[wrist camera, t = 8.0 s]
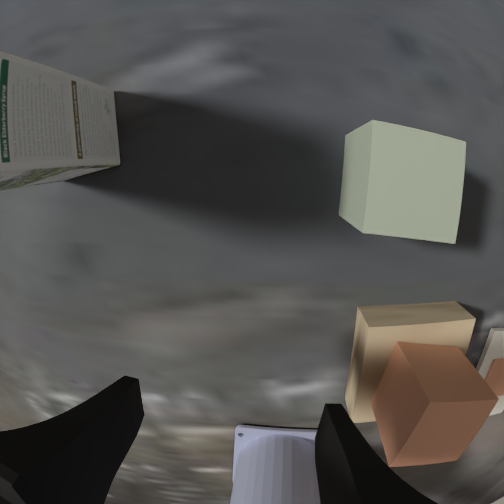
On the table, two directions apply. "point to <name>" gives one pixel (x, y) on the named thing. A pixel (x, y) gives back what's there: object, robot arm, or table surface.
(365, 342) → the birch block
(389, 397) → the terracotta block
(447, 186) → the sage green block
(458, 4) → the table surface
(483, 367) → the card
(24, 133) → the syrup box
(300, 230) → the table surface
